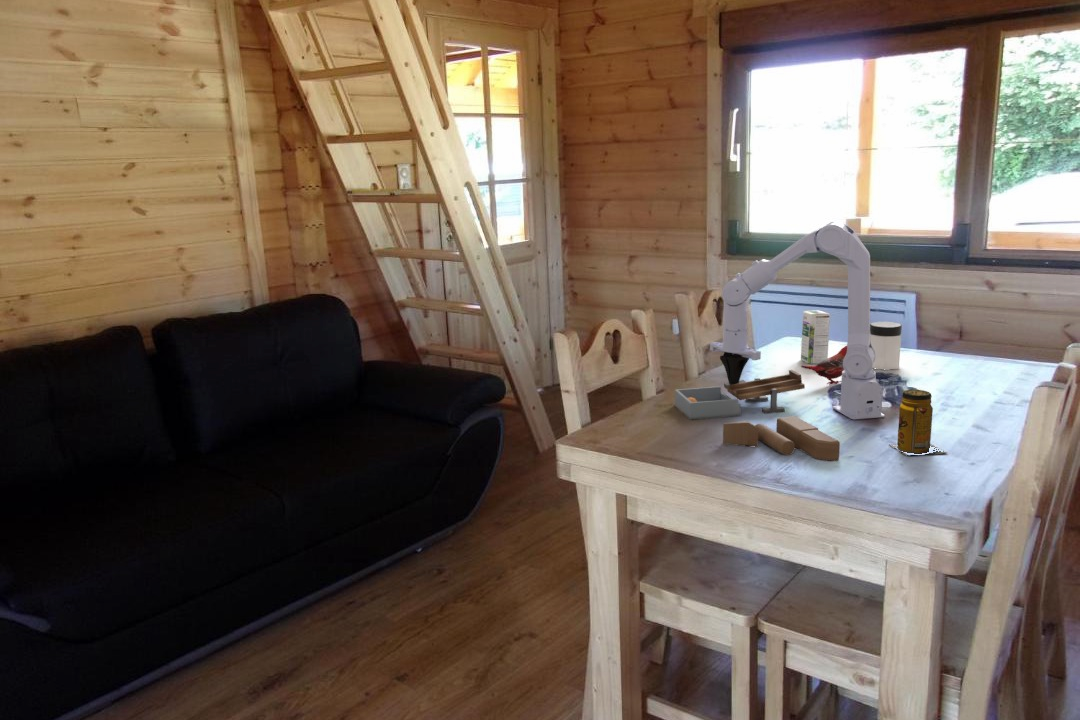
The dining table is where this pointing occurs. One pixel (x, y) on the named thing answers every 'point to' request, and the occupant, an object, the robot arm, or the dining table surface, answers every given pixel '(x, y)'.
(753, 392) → the wooden rack
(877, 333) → the jar
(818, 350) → the syrup box
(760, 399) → the lever stand
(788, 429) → the wooden block set
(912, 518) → the dining table surface
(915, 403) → the condiment
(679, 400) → the tray
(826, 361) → the red pointed-tail figurine
